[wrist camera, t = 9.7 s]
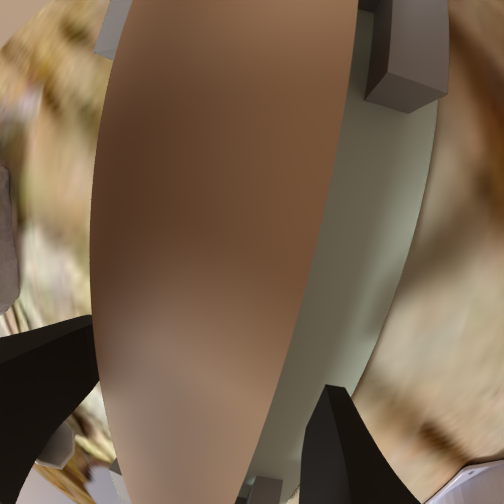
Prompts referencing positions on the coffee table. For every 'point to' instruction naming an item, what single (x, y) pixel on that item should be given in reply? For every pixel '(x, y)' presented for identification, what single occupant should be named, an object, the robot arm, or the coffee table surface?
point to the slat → (208, 226)
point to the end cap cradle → (349, 221)
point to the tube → (58, 448)
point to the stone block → (7, 247)
